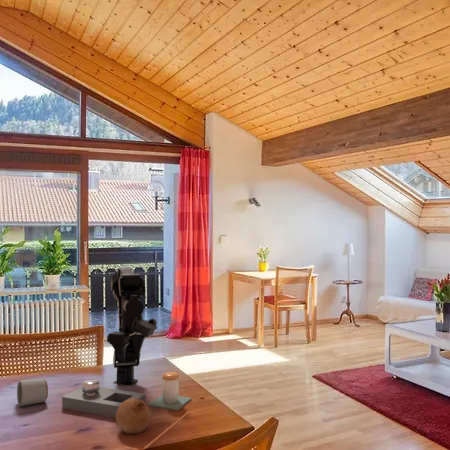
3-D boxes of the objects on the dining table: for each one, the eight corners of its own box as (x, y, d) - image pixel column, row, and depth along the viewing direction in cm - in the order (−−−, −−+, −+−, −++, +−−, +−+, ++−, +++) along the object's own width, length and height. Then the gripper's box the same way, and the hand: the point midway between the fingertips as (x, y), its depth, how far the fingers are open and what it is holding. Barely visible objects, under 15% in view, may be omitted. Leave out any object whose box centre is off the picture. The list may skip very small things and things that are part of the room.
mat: (163, 396, 165) (163, 393, 165) (191, 400, 161) (191, 397, 161) (148, 407, 156) (148, 404, 156) (177, 412, 152) (177, 408, 152)
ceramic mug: (49, 404, 157) (49, 379, 157) (21, 409, 153) (21, 384, 153) (40, 394, 166) (40, 371, 166) (13, 399, 161) (13, 375, 161)
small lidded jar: (166, 397, 162) (167, 371, 162) (181, 399, 160) (181, 373, 160) (159, 402, 157) (159, 376, 157) (173, 404, 155) (174, 378, 155)
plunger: (88, 400, 160) (88, 379, 159) (102, 402, 158) (102, 381, 158) (78, 406, 155) (78, 384, 155) (92, 408, 153) (92, 386, 153)
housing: (86, 396, 164) (86, 384, 164) (145, 406, 156) (145, 393, 156) (62, 409, 153) (62, 396, 153) (124, 421, 145) (124, 407, 145)
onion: (143, 445, 136) (154, 417, 133) (109, 439, 134) (119, 410, 131) (145, 420, 145) (156, 393, 142) (113, 413, 143) (123, 385, 140)
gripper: (136, 318, 154) (136, 369, 154) (165, 308, 172) (165, 354, 172) (106, 316, 158) (105, 365, 158) (137, 306, 176) (136, 351, 176)
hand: (130, 358), depth 166 cm, fingers open, 9 cm apart
